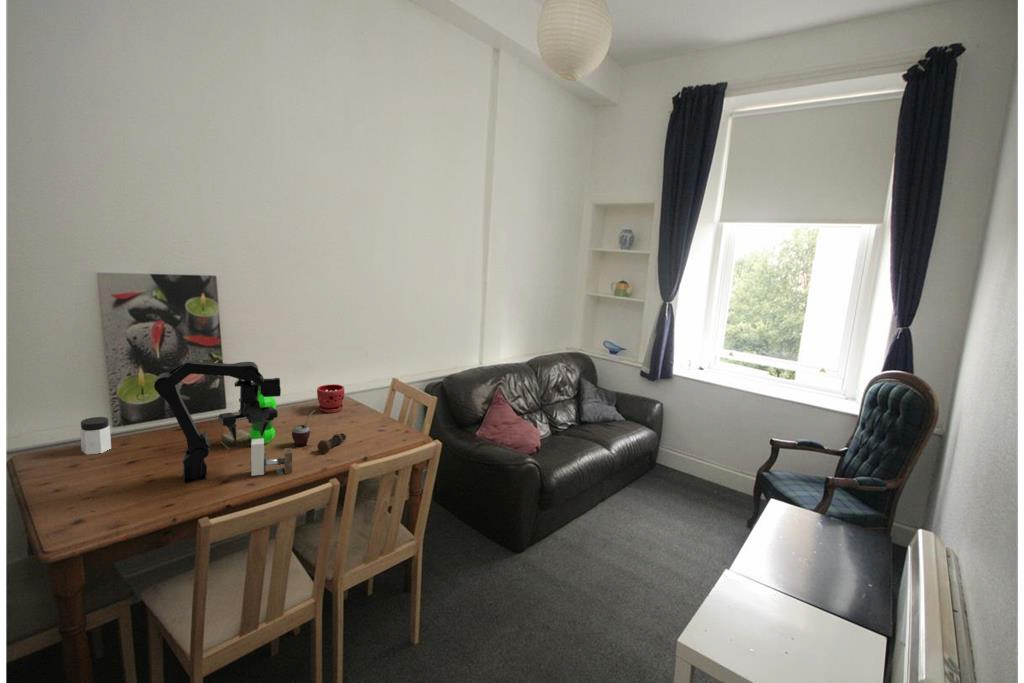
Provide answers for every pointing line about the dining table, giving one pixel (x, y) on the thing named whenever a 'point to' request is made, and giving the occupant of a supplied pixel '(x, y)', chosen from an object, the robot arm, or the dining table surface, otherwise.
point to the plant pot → (330, 397)
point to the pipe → (274, 461)
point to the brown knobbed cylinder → (330, 443)
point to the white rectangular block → (258, 457)
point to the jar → (95, 435)
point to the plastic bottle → (255, 429)
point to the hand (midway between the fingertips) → (248, 438)
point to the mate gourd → (301, 434)
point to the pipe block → (286, 462)
